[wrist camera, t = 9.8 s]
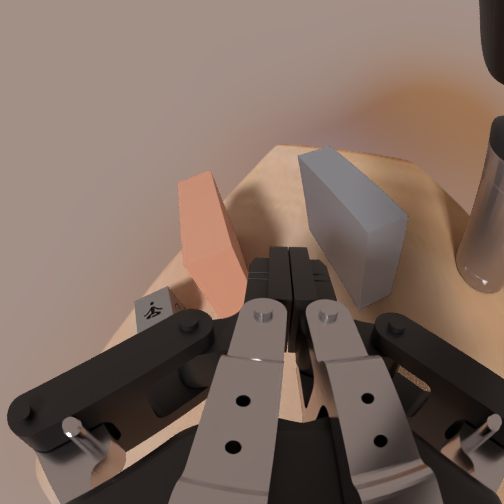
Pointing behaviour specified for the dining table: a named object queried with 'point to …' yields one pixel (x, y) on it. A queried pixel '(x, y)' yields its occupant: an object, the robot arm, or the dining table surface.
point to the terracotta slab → (211, 245)
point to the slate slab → (353, 224)
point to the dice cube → (156, 308)
